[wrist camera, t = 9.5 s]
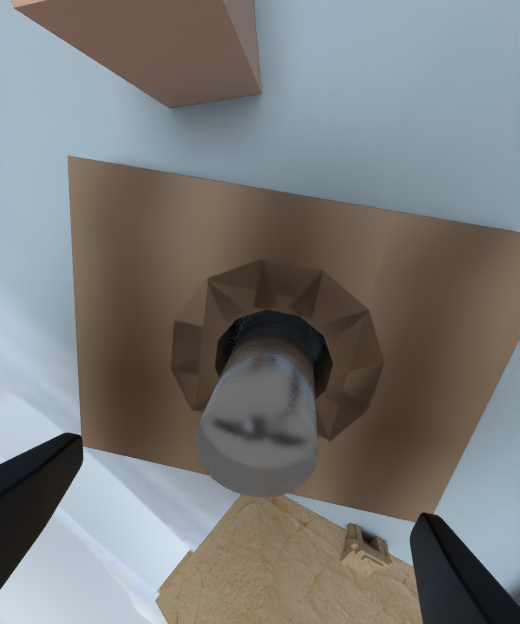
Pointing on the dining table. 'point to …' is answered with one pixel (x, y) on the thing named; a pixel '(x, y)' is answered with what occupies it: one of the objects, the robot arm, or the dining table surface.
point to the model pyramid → (288, 572)
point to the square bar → (162, 43)
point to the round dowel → (263, 410)
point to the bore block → (298, 301)
